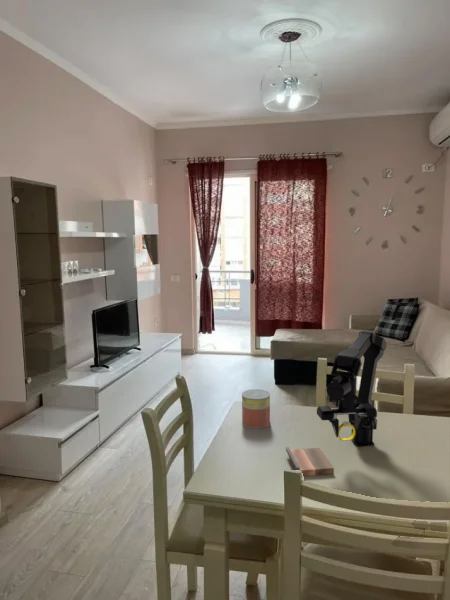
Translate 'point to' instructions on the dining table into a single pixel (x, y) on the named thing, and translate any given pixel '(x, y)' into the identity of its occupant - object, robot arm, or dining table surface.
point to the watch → (347, 426)
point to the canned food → (255, 408)
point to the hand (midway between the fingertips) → (346, 436)
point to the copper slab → (310, 461)
